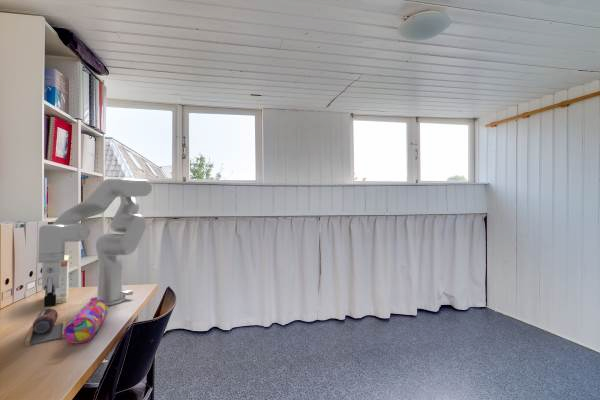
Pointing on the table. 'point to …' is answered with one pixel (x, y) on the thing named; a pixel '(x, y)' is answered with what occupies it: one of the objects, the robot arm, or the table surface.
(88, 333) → the pencil case
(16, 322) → the table surface
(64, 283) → the coffeecake box
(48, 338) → the cradle mat
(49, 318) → the supplement bottle
